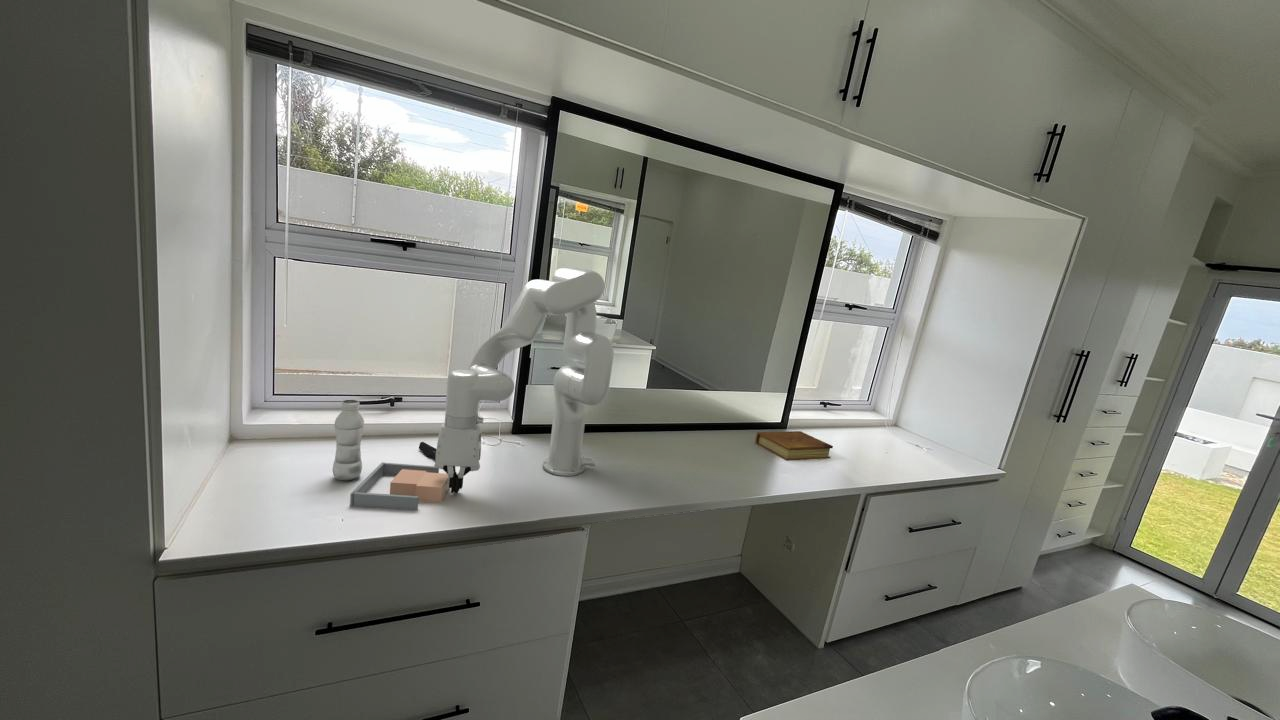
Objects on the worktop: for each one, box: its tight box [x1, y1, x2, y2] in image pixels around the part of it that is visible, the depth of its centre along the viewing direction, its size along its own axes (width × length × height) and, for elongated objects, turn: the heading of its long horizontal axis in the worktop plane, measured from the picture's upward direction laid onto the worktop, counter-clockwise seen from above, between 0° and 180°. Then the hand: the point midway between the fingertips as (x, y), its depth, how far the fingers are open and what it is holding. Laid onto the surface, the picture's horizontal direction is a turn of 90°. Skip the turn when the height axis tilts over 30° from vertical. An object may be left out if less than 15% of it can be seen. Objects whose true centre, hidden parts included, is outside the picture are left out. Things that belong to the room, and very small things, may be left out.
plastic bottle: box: [332, 399, 365, 481], centre depth 122 cm, size 6×7×20 cm
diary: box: [754, 430, 834, 462], centre depth 197 cm, size 23×19×6 cm
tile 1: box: [389, 469, 427, 496], centre depth 121 cm, size 6×8×4 cm
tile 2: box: [415, 472, 450, 503], centre depth 121 cm, size 6×8×4 cm
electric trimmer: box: [418, 441, 437, 460], centre depth 143 cm, size 4×16×3 cm, turn 51°
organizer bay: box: [349, 462, 440, 511], centre depth 120 cm, size 14×18×3 cm
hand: (455, 490), depth 122 cm, fingers closed
